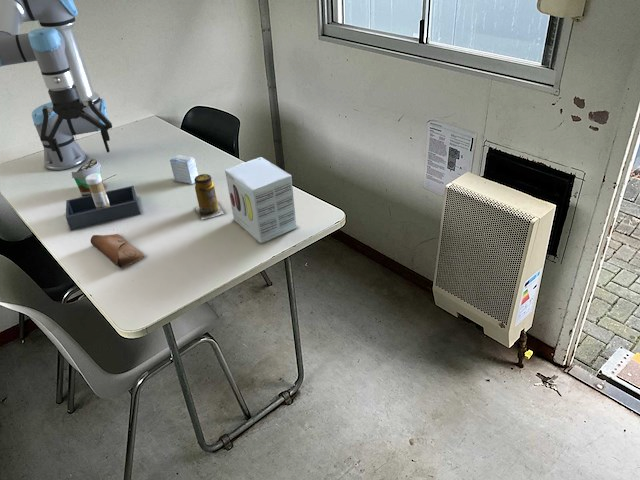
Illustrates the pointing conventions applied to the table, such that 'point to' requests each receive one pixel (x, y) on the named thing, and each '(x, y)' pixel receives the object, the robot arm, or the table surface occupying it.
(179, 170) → the medicine box
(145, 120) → the table surface
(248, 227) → the supplement box
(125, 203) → the dark grey open tray
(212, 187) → the condiment
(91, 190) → the sprinkles bottle
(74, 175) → the food container
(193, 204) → the table surface
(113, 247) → the sunglasses case
